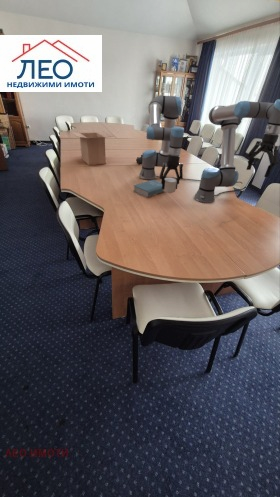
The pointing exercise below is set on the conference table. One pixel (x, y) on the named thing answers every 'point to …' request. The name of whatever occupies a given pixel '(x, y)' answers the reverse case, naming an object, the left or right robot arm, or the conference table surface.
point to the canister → (170, 185)
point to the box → (92, 146)
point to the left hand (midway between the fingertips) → (169, 188)
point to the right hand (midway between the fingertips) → (256, 173)
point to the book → (148, 188)
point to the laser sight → (139, 159)
